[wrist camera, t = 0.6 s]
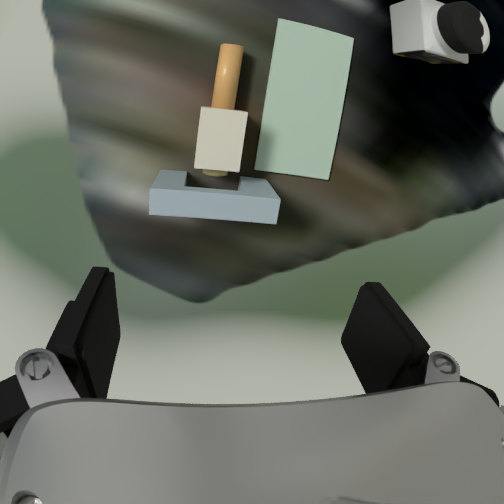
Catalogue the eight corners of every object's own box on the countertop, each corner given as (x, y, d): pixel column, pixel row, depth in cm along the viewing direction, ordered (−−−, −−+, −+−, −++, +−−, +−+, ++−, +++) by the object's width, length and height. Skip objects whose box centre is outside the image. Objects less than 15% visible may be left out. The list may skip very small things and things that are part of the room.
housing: (160, 169, 34) (149, 188, 27) (265, 178, 36) (280, 199, 29) (159, 190, 35) (148, 214, 28) (262, 199, 37) (276, 224, 30)
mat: (278, 19, 28) (279, 18, 27) (352, 38, 29) (353, 38, 29) (254, 169, 36) (254, 169, 35) (327, 179, 37) (328, 179, 37)
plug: (210, 46, 28) (211, 37, 24) (251, 51, 29) (259, 43, 25) (194, 166, 35) (193, 177, 30) (233, 170, 35) (237, 181, 31)
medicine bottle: (392, 54, 31) (455, 49, 20) (388, 5, 27) (448, -14, 17) (434, 64, 31) (498, 66, 21) (431, 17, 28) (493, 8, 18)
